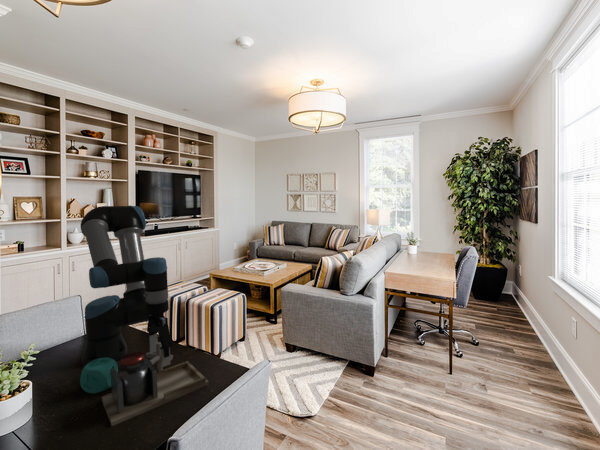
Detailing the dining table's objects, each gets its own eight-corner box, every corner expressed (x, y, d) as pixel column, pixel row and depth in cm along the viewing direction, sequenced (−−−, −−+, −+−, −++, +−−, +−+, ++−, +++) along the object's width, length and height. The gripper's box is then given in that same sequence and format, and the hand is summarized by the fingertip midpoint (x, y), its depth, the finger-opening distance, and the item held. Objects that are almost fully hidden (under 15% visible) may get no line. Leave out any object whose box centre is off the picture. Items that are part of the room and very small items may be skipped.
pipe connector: (163, 378, 105) (162, 350, 104) (138, 375, 107) (136, 348, 106) (180, 363, 115) (179, 338, 114) (157, 361, 117) (155, 336, 116)
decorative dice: (107, 392, 98) (106, 368, 97) (80, 395, 96) (78, 370, 96) (118, 378, 106) (117, 356, 105) (93, 380, 104) (92, 358, 104)
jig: (101, 400, 94) (101, 391, 93) (190, 366, 112) (190, 359, 112) (111, 426, 82) (111, 417, 82) (208, 384, 101) (208, 376, 101)
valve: (112, 400, 93) (109, 357, 92) (148, 386, 100) (146, 346, 99) (119, 417, 86) (116, 370, 85) (158, 401, 93) (155, 357, 92)
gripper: (136, 296, 116) (139, 350, 117) (156, 311, 97) (160, 375, 98) (157, 292, 121) (159, 343, 122) (180, 306, 102) (183, 367, 103)
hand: (159, 358), depth 110 cm, fingers open, 13 cm apart
